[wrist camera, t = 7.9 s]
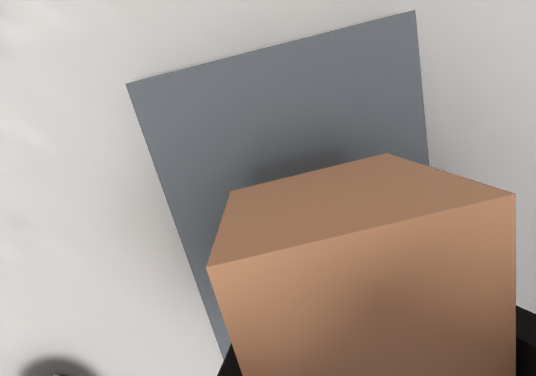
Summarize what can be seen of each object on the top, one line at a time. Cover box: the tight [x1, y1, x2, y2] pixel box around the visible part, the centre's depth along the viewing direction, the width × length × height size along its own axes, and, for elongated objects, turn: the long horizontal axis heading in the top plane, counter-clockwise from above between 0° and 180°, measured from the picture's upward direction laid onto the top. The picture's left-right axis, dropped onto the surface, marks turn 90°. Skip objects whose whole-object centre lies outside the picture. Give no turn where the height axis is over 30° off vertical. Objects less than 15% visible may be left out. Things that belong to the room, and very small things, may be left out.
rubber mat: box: [126, 10, 429, 359], centre depth 14 cm, size 18×12×1 cm, turn 14°
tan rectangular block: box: [206, 153, 516, 376], centre depth 8 cm, size 5×9×4 cm, turn 14°
